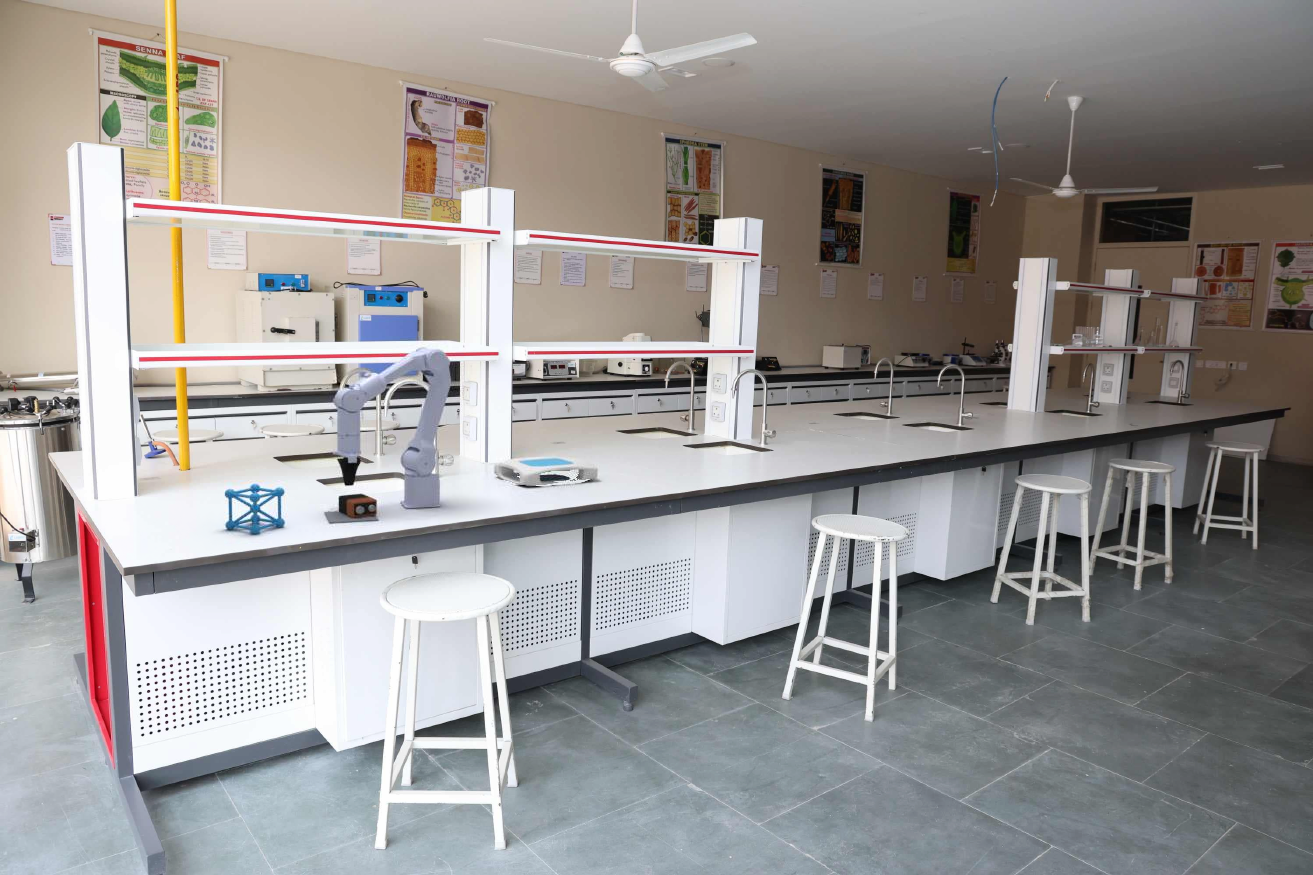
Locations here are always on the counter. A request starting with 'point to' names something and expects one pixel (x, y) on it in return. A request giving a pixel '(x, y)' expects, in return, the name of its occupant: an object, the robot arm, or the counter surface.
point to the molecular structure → (254, 508)
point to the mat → (346, 517)
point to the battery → (357, 505)
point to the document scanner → (542, 469)
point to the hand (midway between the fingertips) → (349, 485)
